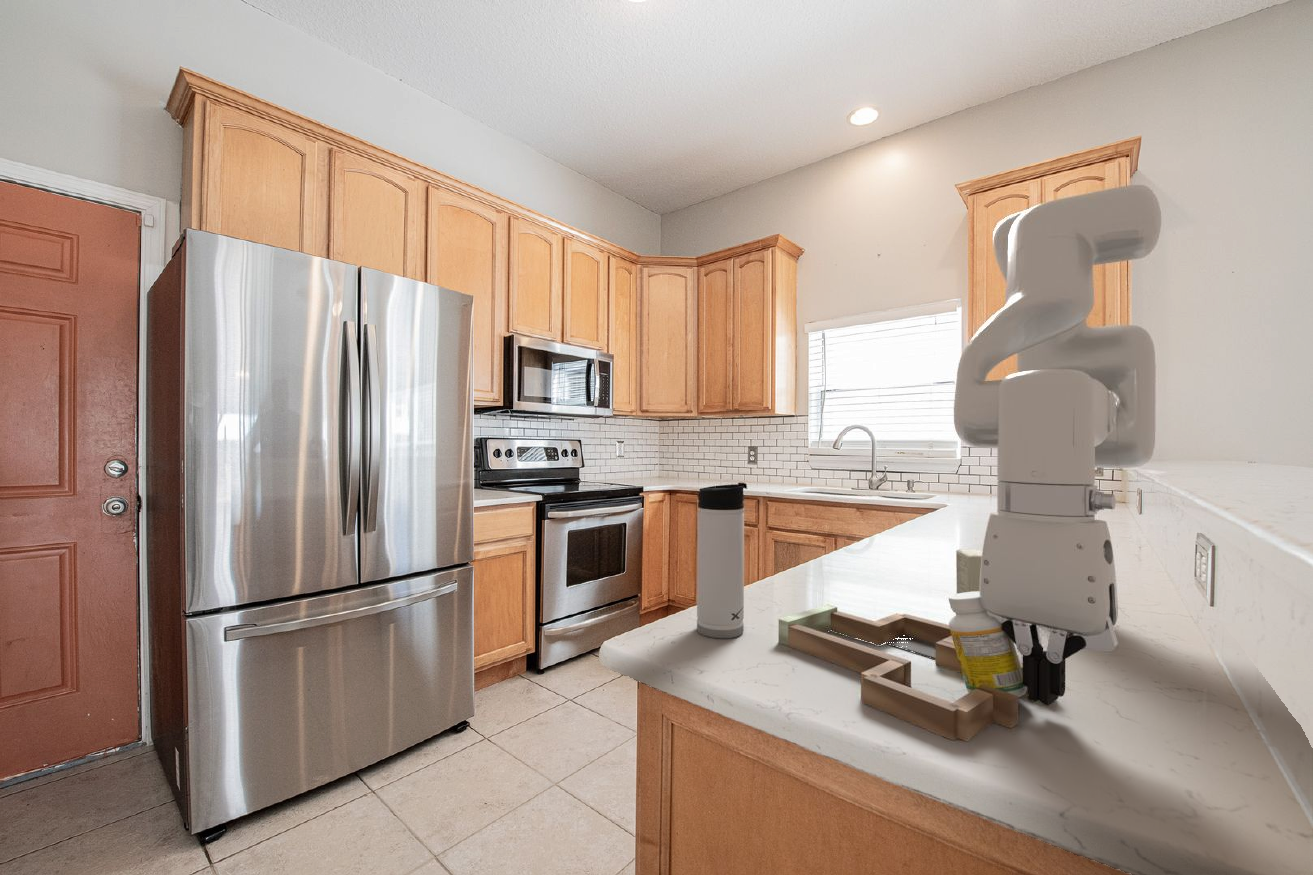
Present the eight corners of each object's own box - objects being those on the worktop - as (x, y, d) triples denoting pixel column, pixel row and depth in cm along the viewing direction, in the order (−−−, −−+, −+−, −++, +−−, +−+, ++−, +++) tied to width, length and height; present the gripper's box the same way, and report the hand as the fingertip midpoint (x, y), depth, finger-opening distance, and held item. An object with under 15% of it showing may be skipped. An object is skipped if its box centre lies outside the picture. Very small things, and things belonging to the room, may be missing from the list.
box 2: (1005, 644, 70) (1005, 557, 71) (968, 641, 71) (968, 555, 71) (989, 630, 76) (989, 549, 76) (955, 628, 76) (955, 548, 77)
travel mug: (749, 639, 72) (750, 484, 72) (698, 638, 72) (699, 484, 72) (742, 623, 78) (743, 481, 78) (695, 623, 78) (696, 481, 78)
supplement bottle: (1020, 703, 52) (988, 598, 53) (959, 699, 55) (932, 601, 57) (1034, 685, 55) (1005, 587, 57) (977, 682, 59) (951, 591, 61)
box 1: (853, 617, 81) (853, 596, 81) (1072, 679, 60) (1072, 652, 60) (744, 653, 67) (744, 628, 67) (981, 752, 46) (981, 715, 46)
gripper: (1158, 507, 49) (1158, 718, 48) (975, 494, 60) (974, 664, 60) (1138, 512, 44) (1138, 746, 44) (944, 497, 56) (943, 681, 55)
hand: (1043, 698), depth 52 cm, fingers closed
